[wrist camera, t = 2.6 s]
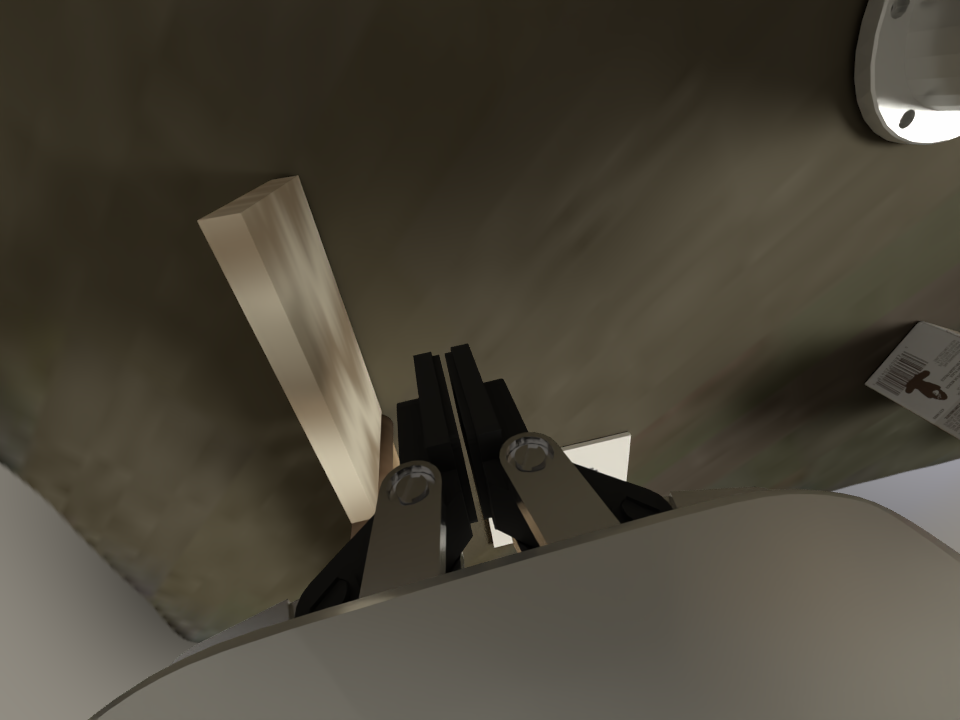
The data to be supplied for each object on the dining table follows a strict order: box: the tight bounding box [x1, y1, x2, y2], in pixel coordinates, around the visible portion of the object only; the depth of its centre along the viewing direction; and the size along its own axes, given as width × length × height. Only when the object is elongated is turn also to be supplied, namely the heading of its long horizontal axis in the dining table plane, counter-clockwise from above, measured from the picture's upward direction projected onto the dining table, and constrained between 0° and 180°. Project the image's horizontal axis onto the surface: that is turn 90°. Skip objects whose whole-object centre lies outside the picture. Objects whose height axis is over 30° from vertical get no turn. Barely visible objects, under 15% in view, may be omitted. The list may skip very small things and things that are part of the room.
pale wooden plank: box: [197, 175, 381, 523], centre depth 18 cm, size 14×1×8 cm, turn 8°
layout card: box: [489, 432, 631, 548], centre depth 33 cm, size 12×10×1 cm
